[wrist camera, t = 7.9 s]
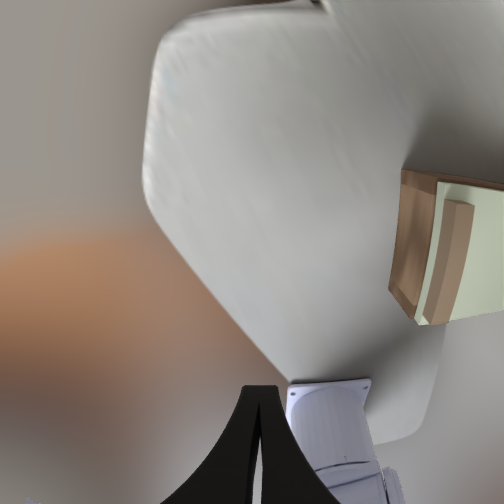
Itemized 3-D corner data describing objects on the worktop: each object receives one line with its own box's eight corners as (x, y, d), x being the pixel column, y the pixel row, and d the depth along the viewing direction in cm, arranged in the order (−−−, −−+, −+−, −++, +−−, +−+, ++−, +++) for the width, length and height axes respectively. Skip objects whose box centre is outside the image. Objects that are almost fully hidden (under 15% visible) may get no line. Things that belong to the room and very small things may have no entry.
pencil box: (517, 277, 19) (548, 300, 14) (388, 288, 20) (416, 328, 15) (534, 191, 16) (570, 205, 11) (401, 169, 17) (443, 179, 12)
